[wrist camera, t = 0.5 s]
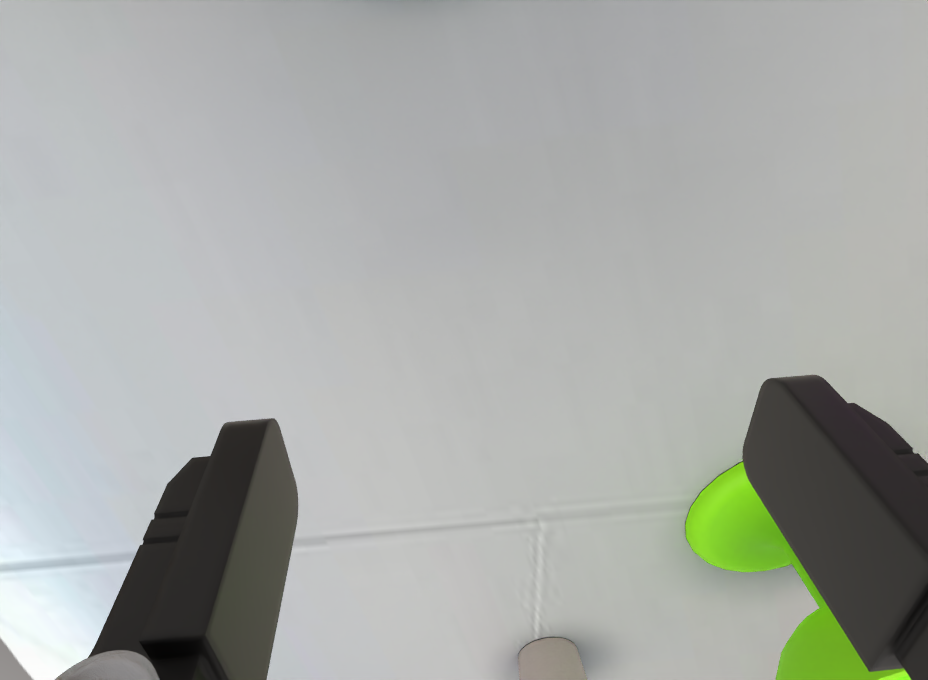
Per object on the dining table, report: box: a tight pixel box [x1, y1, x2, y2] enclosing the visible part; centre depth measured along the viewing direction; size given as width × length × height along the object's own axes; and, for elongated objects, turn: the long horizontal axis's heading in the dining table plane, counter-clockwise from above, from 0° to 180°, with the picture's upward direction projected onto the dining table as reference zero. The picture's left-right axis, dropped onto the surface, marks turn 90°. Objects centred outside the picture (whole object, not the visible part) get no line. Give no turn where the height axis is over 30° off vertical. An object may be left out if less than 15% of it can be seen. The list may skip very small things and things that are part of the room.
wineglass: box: [685, 462, 911, 680], centre depth 47 cm, size 16×16×18 cm
